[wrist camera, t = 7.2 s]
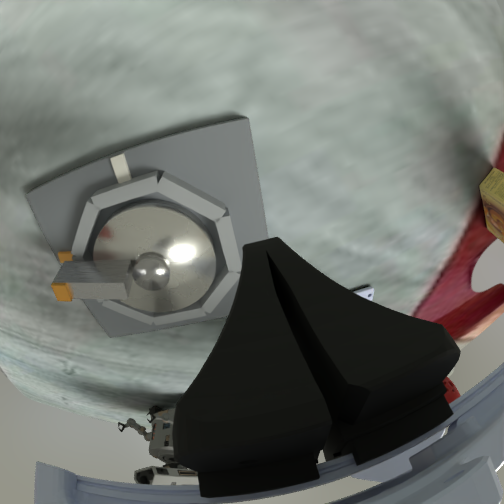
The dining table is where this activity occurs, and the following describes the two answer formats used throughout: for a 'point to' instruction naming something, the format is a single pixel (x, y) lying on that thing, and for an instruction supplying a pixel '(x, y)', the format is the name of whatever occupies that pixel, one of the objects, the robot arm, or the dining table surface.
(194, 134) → the board
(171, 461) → the figurine
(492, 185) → the candy box
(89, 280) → the dial
